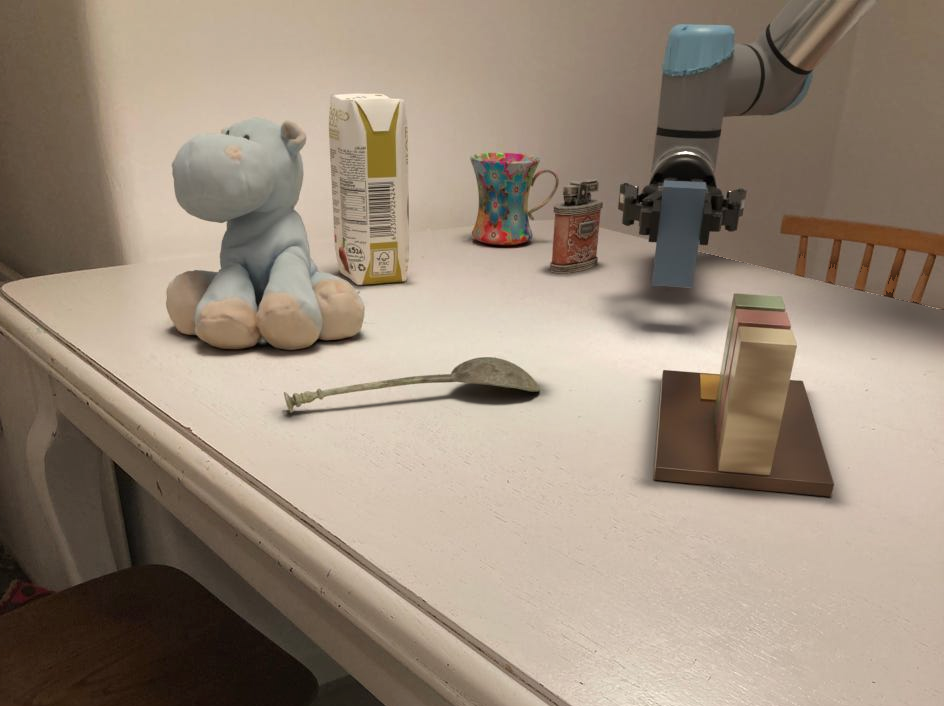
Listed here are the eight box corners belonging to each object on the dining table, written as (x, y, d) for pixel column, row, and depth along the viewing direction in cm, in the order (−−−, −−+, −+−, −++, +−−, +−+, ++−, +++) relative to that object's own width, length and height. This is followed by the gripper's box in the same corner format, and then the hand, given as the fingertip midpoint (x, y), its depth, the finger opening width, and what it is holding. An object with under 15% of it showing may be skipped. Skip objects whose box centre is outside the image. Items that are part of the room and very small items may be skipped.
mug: (467, 247, 130) (468, 160, 124) (469, 234, 138) (471, 151, 132) (555, 250, 130) (561, 163, 124) (553, 236, 137) (558, 154, 132)
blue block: (692, 278, 98) (705, 182, 93) (692, 288, 95) (706, 188, 90) (652, 276, 99) (664, 180, 94) (651, 285, 95) (663, 186, 90)
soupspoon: (552, 407, 81) (522, 386, 86) (555, 367, 79) (524, 348, 85) (292, 425, 74) (277, 400, 80) (290, 381, 73) (275, 359, 78)
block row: (800, 391, 84) (827, 271, 78) (831, 497, 66) (868, 351, 60) (661, 380, 85) (677, 262, 80) (653, 480, 67) (673, 336, 62)
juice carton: (354, 288, 111) (346, 99, 100) (331, 271, 117) (321, 93, 107) (415, 283, 113) (413, 98, 103) (389, 267, 120) (385, 92, 109)
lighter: (565, 274, 118) (571, 186, 113) (543, 270, 120) (548, 182, 115) (603, 264, 123) (611, 179, 118) (582, 260, 125) (589, 175, 120)
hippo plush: (135, 336, 93) (98, 123, 83) (293, 289, 109) (278, 106, 99) (275, 372, 85) (254, 140, 75) (424, 316, 101) (423, 118, 91)
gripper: (753, 229, 109) (767, 276, 90) (602, 221, 112) (584, 265, 92) (765, 156, 105) (783, 188, 86) (609, 149, 107) (591, 179, 88)
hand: (680, 228), depth 89 cm, fingers closed on blue block, 4 cm apart
